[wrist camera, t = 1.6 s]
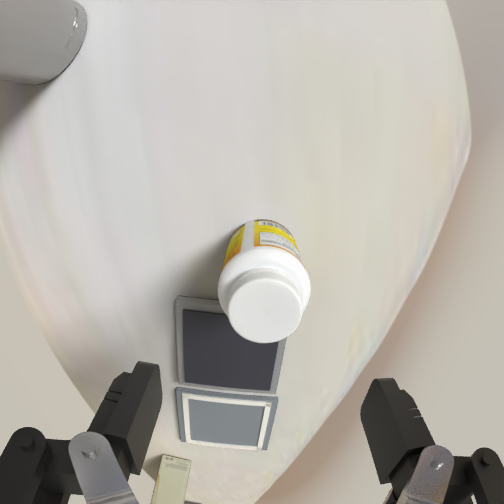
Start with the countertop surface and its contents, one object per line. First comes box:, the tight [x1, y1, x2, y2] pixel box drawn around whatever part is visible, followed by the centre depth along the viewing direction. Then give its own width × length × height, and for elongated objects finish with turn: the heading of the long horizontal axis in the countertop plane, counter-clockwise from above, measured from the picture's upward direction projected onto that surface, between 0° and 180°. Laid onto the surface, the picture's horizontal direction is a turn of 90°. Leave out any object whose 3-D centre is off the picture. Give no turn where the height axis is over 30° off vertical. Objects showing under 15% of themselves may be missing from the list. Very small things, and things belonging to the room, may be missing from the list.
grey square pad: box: [176, 387, 278, 450], centre depth 32 cm, size 11×10×1 cm
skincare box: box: [150, 455, 191, 504], centre depth 31 cm, size 6×4×12 cm
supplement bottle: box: [218, 219, 310, 343], centre depth 21 cm, size 6×6×10 cm
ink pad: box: [176, 296, 287, 394], centre depth 28 cm, size 10×10×1 cm
